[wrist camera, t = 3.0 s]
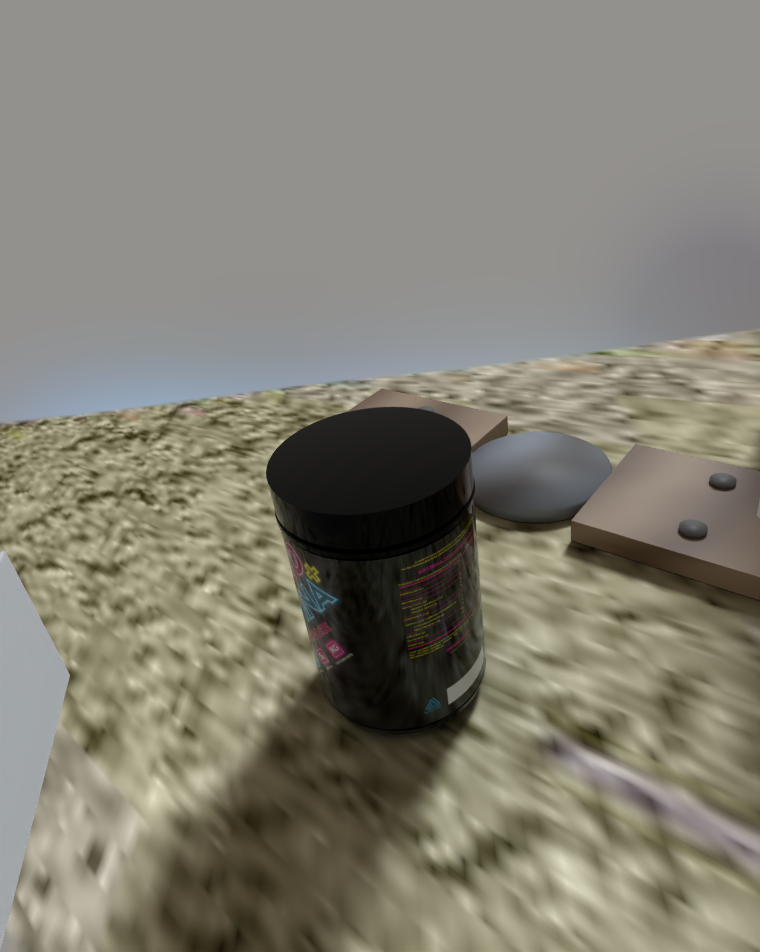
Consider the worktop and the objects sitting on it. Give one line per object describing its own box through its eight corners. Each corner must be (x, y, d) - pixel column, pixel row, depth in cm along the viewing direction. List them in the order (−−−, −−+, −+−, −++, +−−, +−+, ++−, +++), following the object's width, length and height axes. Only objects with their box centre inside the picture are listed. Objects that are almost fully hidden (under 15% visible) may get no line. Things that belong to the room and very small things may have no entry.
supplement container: (376, 598, 32) (340, 395, 26) (514, 642, 28) (506, 420, 23) (288, 706, 27) (221, 488, 22) (440, 775, 24) (407, 537, 18)
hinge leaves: (307, 456, 44) (303, 437, 43) (384, 403, 49) (381, 386, 48) (804, 614, 27) (810, 588, 27) (843, 511, 32) (849, 486, 32)
